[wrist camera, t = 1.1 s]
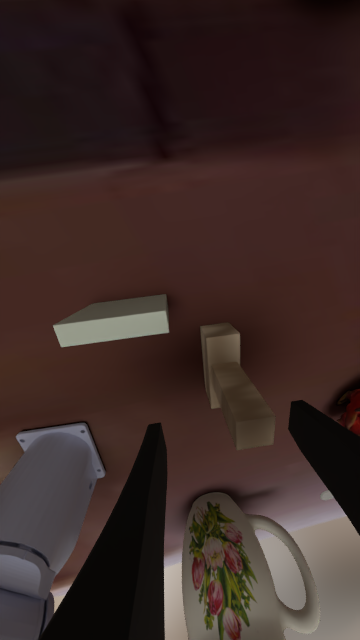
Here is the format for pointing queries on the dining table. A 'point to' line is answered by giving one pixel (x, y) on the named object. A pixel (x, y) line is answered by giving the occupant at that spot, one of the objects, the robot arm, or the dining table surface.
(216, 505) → the pitcher
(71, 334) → the tile
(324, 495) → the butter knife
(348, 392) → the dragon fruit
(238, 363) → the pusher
